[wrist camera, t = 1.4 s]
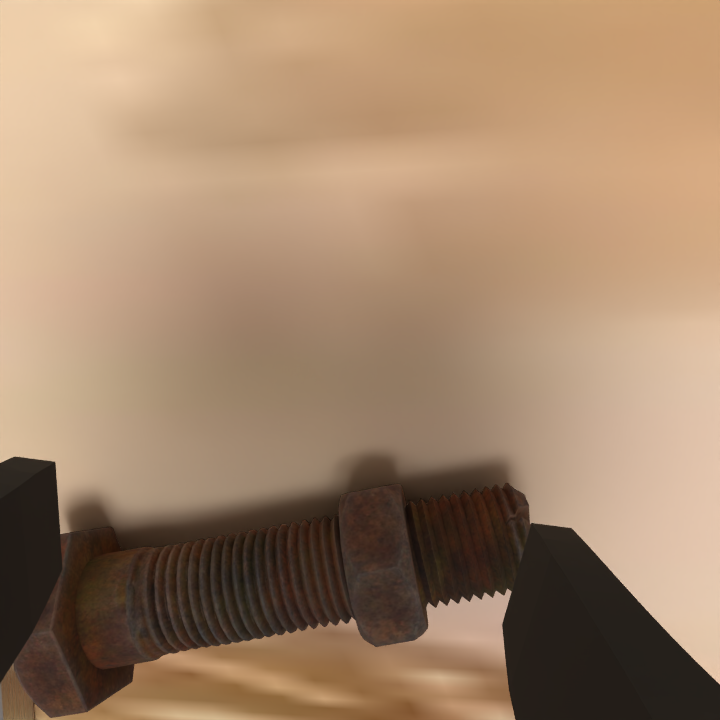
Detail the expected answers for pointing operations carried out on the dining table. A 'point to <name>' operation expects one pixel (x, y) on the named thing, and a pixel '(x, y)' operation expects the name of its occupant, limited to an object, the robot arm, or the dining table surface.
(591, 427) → the dining table surface
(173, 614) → the bolt
